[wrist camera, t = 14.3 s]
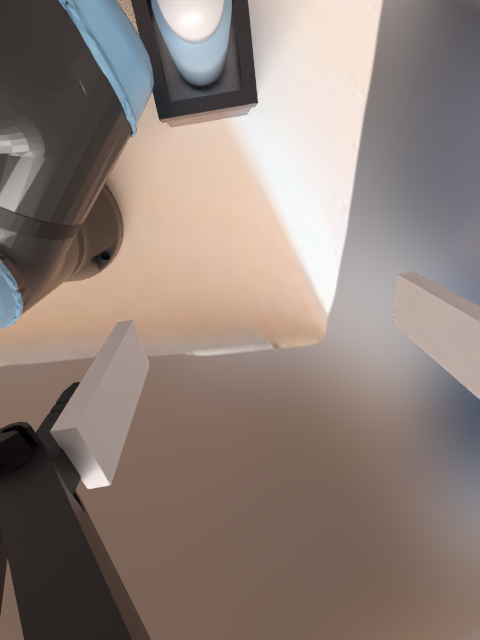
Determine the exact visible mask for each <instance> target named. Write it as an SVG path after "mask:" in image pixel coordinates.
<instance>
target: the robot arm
mask: <svg viewBox="0 0 480 640" xmlns="http://www.w3.org/2000/svg"><path fill="white" fill-rule="evenodd" d="M153 83H154V79H153V70H152V66H151V62H150V58H149V55H148V53H147V51H146V48H145V46H144V44H143V42H142V41H141V39H140V37H139V35H138V33H137V32H136V30H135V28H134V27H133V25H132V23H131V22H130V20H129V19H128V17H127V15H126V14H125V12H124V11H123V9H122V8H121V6H120V5H119V3H118V2H117V0H0V330H1V329H3V328H6V327H8V326H10V325H12V324H14V323H15V321H16V320H18V319H19V318H20V316H21V315H22V314H23V313H24V312H26V311H27V310H28V309H30V308H31V307H32V306H33V305H35V304H36V303H37V302H39V301H40V300H41V299H43V298H44V297H45V296H46V295H48V294H49V293H50V292H52V291H53V290H54V289H55V288H57V287H58V286H59V285H61V284H62V283H63V282H71V281H79V280H84V279H87V278H90V277H92V276H94V275H96V274H98V273H100V272H101V271H102V270H104V269H105V268H106V267H107V266H108V265H109V264H110V263H111V262H112V261H113V260H114V259H115V257H116V256H117V254H118V252H119V250H120V247H121V243H122V238H123V223H122V218H121V214H120V211H119V208H118V205H117V203H116V201H115V199H114V197H113V196H112V194H111V192H110V191H109V190H108V188H107V187H106V186H105V185H104V184H105V182H106V180H107V179H108V177H109V175H110V173H111V171H112V169H113V167H114V165H115V164H116V162H117V160H118V158H119V156H120V154H121V152H122V151H123V149H124V147H125V145H126V143H127V141H128V139H129V137H134V136H135V134H136V131H137V122H138V120H139V118H140V116H141V114H142V112H143V110H144V108H145V106H146V104H147V101H148V99H149V97H150V95H151V93H152V89H153ZM393 324H394V325H395V326H396V327H397V328H398V329H400V330H401V331H402V332H403V333H404V334H405V335H407V336H408V337H409V338H410V339H411V340H412V341H413V342H415V343H416V344H417V345H418V346H419V347H420V348H421V349H423V350H424V351H425V352H426V353H427V354H428V355H429V356H431V357H432V358H433V359H434V360H435V361H436V362H437V363H439V364H440V365H441V366H442V367H443V368H444V369H445V370H447V371H448V372H449V373H450V374H452V376H454V377H455V378H456V379H457V380H458V381H459V382H460V383H462V384H463V385H464V386H465V387H466V388H467V389H468V390H470V391H471V392H472V393H473V394H474V395H476V397H478V398H479V399H480V306H478V305H476V304H474V303H472V302H470V301H468V300H466V299H464V298H463V297H461V296H459V295H457V294H455V293H453V292H451V291H449V290H447V289H445V288H443V287H441V286H439V285H438V284H436V283H434V282H432V281H430V280H428V279H426V278H424V277H422V276H420V275H419V274H417V273H415V272H410V273H405V274H399V275H398V281H397V290H396V299H395V307H394V316H393ZM149 366H150V365H149V362H148V359H147V356H146V354H145V351H144V348H143V345H142V343H141V340H140V337H139V335H138V332H137V329H136V326H135V324H134V321H133V320H130V321H124V322H119V323H117V325H116V326H115V328H114V329H113V331H112V333H111V334H110V336H109V337H108V339H107V341H106V342H105V344H104V345H103V347H102V349H101V350H100V352H99V353H98V355H97V357H96V358H95V360H94V361H93V363H92V365H91V366H90V368H89V370H88V371H87V373H86V374H85V376H84V378H83V379H82V381H81V382H77V383H73V384H72V385H71V386H70V387H69V388H67V389H66V390H65V391H64V392H63V393H62V394H61V396H60V398H59V399H58V400H57V402H56V405H54V406H53V408H52V409H51V411H50V413H49V414H48V415H47V417H46V418H45V420H44V421H43V423H42V424H41V426H40V427H39V429H38V430H37V432H36V433H35V431H34V430H33V429H32V427H31V426H30V425H29V424H28V423H27V422H17V423H13V424H10V425H7V426H5V427H3V428H1V429H0V614H1V606H2V598H3V590H4V582H5V573H6V565H7V557H8V561H9V566H10V571H11V576H12V581H13V586H14V591H15V596H16V601H17V606H18V611H19V616H20V621H21V626H22V631H23V636H24V640H151V639H150V637H149V635H148V633H147V631H146V629H145V627H144V625H143V623H142V621H141V619H140V617H139V615H138V613H137V611H136V609H135V607H134V605H133V603H132V601H131V599H130V597H129V594H128V592H127V591H126V589H125V587H124V585H123V582H122V581H121V578H120V576H119V574H118V573H117V570H116V569H115V566H114V564H113V562H112V560H111V558H110V556H109V554H108V552H107V550H106V548H105V547H104V544H103V542H102V540H101V538H100V536H99V534H98V532H97V530H96V528H95V526H94V524H93V522H92V520H91V518H90V516H89V514H88V512H87V510H86V508H85V506H84V504H83V502H82V500H81V498H80V496H79V495H78V494H77V492H76V488H77V486H78V483H79V481H80V479H81V480H82V481H83V483H84V484H85V486H86V487H87V488H88V489H91V488H97V487H103V486H109V485H111V482H112V479H113V476H114V473H115V470H116V467H117V464H118V461H119V458H120V455H121V452H122V448H123V446H124V443H125V440H126V436H127V433H128V430H129V427H130V424H131V421H132V418H133V415H134V412H135V409H136V405H137V403H138V400H139V396H140V393H141V390H142V387H143V384H144V381H145V378H146V375H147V372H148V369H149Z"/></svg>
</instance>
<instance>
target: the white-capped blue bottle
mask: <svg viewBox="0 0 480 640" xmlns="http://www.w3.org/2000/svg"><path fill="white" fill-rule="evenodd" d="M151 4H152V9H153V13H154V16H155V19H156V22H157V24H158V27H159V29H160V31H161V34H162V36H163V39H164V41H165V43H166V46H167V48H168V51H169V53H170V55H171V58H172V60H173V62H174V65H175V67H176V69H177V71H178V73H179V75H180V76H181V77H182V79H183V80H184V81H185V82H187V83H188V84H189V85H191V86H193V87H196V88H207V87H210V86H212V85H213V84H215V83H216V82H217V81H218V80H219V79H220V77H221V76H222V74H223V72H224V69H225V65H226V59H227V50H228V40H229V30H230V21H231V11H232V0H151Z"/></svg>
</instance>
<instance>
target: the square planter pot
mask: <svg viewBox="0 0 480 640" xmlns="http://www.w3.org/2000/svg"><path fill="white" fill-rule="evenodd" d="M131 1H132V6H133V10H134V14H135V18H136V23H137V27H138V31H139V36H140V39H141V41H142V42H143V44H144V46H145V48H146V51H147V53H148V55H149V58H150V62H151V66H152V70H153V79H154V83H153V89H152V91H153V95H154V100H155V104H156V108H157V112H158V117H159V120H160V121H161V122H162V123H164V122H167V123H168V124H169V125H170V126H171V127H177V126H183V125H188V124H194V123H200V122H206V121H212V120H218V119H223V118H229V117H235V116H241V115H247V114H248V112H249V110H250V109H251V107H255V106H256V105H257V103H258V99H257V89H256V79H255V69H254V59H253V49H252V39H251V28H250V18H249V8H248V0H232V11H231V21H230V30H229V40H228V50H227V59H226V65H225V69H224V72H223V74H222V76H221V77H220V79H219V80H218V81H217V82H216V83H215V84H213V85H212V86H210V87H207V88H196V87H193V86H191V85H189V84H188V83H187V82H185V81H184V80H183V79H182V77H181V76H180V75H179V73H178V71H177V69H176V67H175V65H174V62H173V60H172V58H171V55H170V53H169V51H168V48H167V46H166V43H165V41H164V39H163V36H162V34H161V31H160V29H159V27H158V24H157V22H156V19H155V16H154V13H153V9H152V4H151V0H131Z"/></svg>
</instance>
